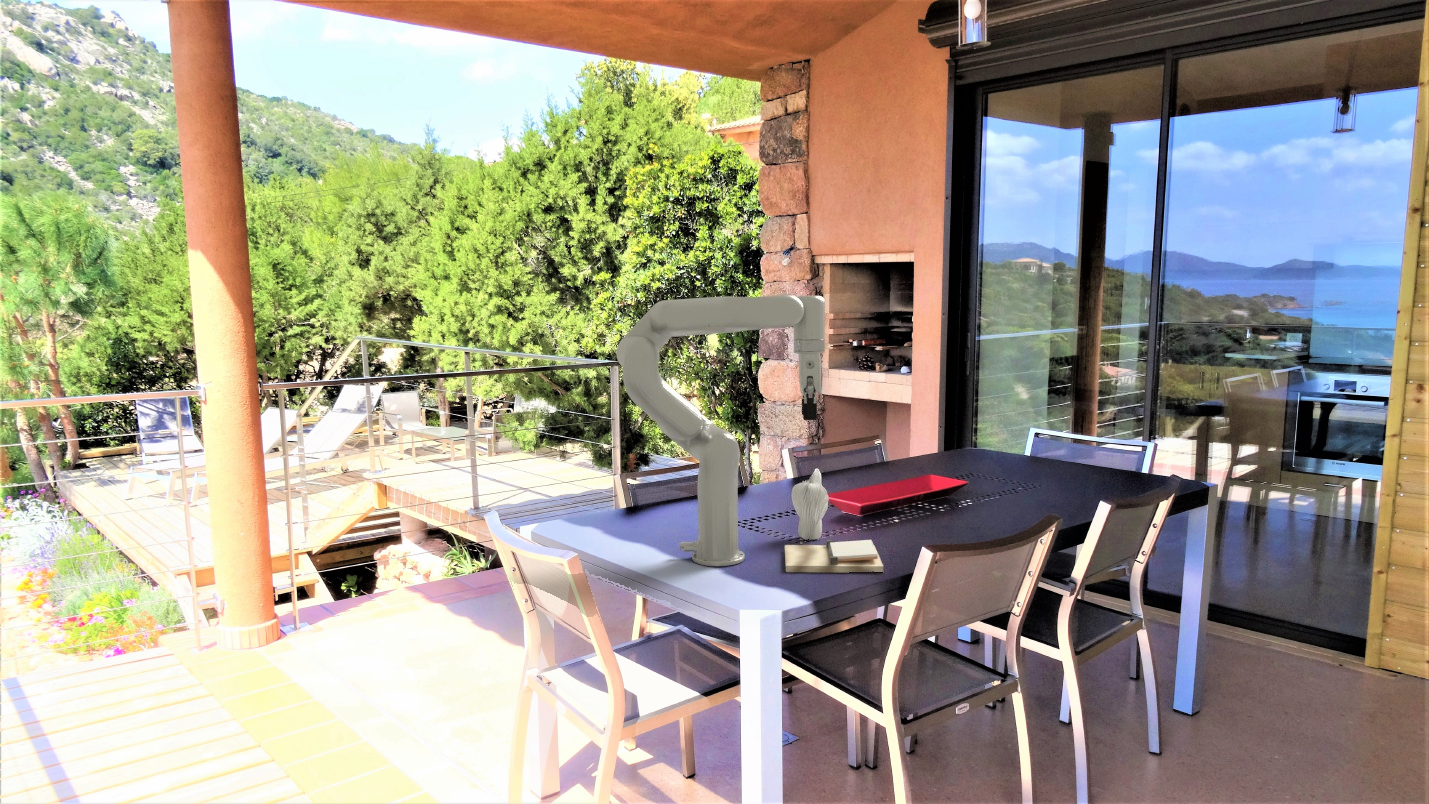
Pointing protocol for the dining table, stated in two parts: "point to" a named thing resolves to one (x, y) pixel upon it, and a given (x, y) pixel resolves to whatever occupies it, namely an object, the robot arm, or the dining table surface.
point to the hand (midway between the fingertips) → (809, 417)
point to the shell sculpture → (810, 506)
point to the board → (824, 560)
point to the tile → (853, 550)
